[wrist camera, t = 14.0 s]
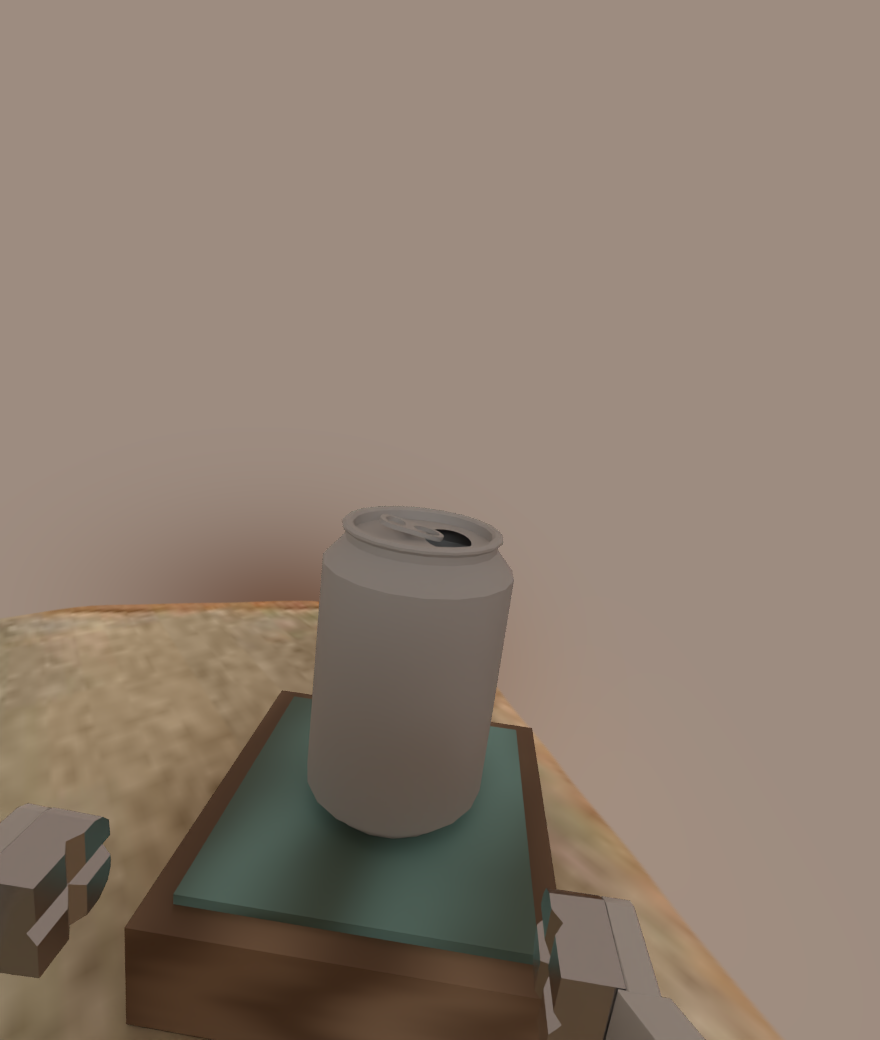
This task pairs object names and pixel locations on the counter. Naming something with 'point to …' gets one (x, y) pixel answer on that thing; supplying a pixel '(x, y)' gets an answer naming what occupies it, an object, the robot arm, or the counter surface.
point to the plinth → (344, 909)
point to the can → (406, 668)
